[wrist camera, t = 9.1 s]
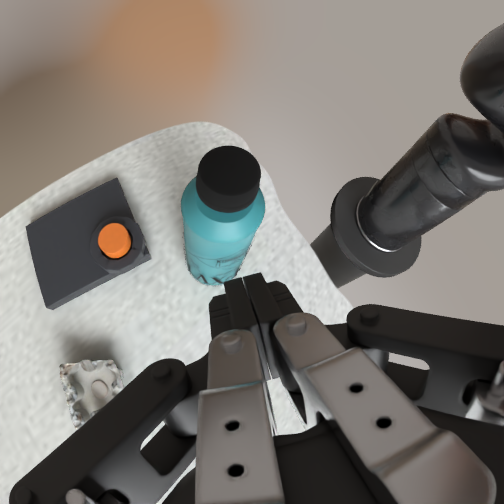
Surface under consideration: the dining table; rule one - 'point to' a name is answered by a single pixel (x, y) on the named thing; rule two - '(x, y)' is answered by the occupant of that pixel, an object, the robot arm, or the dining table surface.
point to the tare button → (114, 240)
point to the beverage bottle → (221, 213)
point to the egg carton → (89, 387)
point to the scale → (82, 244)
